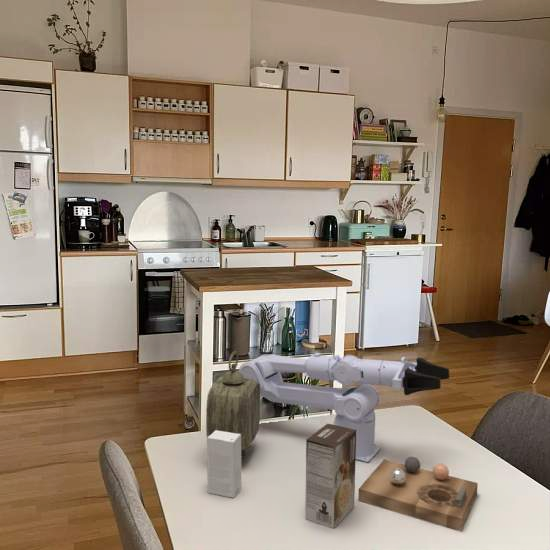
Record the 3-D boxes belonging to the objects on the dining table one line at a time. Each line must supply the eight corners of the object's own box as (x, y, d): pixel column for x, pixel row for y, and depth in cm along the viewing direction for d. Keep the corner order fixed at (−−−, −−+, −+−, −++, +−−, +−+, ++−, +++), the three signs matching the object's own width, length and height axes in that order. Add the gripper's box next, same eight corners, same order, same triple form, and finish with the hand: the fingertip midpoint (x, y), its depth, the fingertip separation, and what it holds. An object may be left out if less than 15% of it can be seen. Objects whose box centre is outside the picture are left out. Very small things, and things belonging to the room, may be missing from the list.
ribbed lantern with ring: (225, 441, 139) (225, 342, 135) (260, 444, 137) (261, 345, 134) (206, 468, 125) (205, 359, 121) (245, 472, 123) (246, 362, 120)
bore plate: (358, 500, 113) (359, 481, 112) (383, 469, 125) (384, 452, 125) (460, 531, 103) (462, 511, 102) (476, 494, 115) (478, 476, 115)
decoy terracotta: (430, 480, 116) (431, 465, 116) (434, 473, 119) (435, 459, 118) (446, 484, 114) (447, 469, 114) (450, 477, 117) (450, 463, 117)
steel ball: (387, 485, 114) (387, 470, 113) (392, 478, 117) (393, 463, 116) (402, 489, 112) (403, 474, 112) (407, 482, 115) (408, 467, 114)
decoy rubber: (402, 472, 119) (402, 458, 119) (406, 466, 122) (407, 452, 121) (417, 476, 117) (417, 462, 117) (421, 470, 120) (422, 456, 120)
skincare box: (242, 488, 117) (242, 433, 115) (233, 498, 113) (234, 442, 111) (215, 483, 119) (215, 429, 117) (206, 493, 115) (206, 437, 113)
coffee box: (325, 497, 114) (327, 421, 111) (355, 506, 110) (357, 429, 108) (303, 519, 106) (305, 438, 104) (334, 530, 103) (336, 446, 100)
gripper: (372, 363, 121) (435, 369, 115) (393, 348, 134) (451, 352, 127) (373, 395, 122) (436, 402, 115) (394, 377, 135) (452, 382, 128)
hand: (444, 378), depth 121 cm, fingers open, 7 cm apart
